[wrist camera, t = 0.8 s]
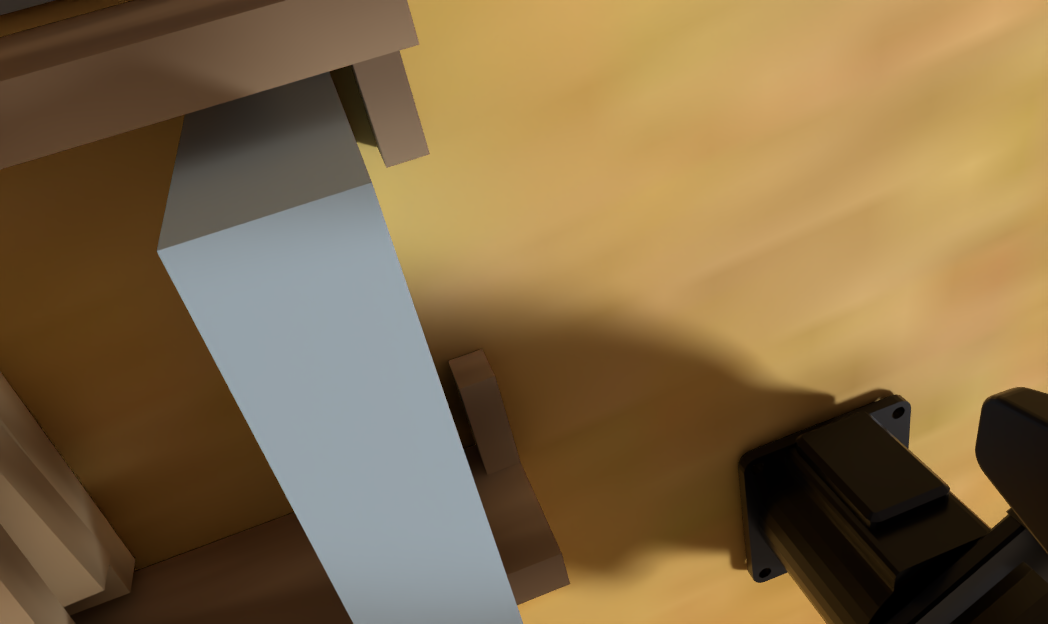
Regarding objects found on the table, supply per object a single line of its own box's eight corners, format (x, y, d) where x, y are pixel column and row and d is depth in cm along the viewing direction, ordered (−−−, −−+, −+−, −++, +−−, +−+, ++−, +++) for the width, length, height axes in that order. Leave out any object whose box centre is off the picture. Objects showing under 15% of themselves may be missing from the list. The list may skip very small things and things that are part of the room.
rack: (515, 461, 25) (570, 583, 21) (-127, 704, 23) (-210, 898, 18) (359, -62, 17) (398, -32, 13) (-680, 225, 14) (-1053, 381, 10)
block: (451, 425, 24) (532, 650, 17) (352, 461, 24) (396, 705, 17) (323, 56, 18) (372, 182, 11) (188, 96, 18) (156, 251, 11)
